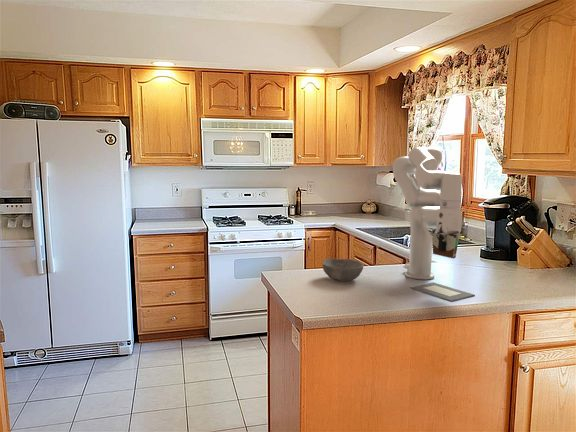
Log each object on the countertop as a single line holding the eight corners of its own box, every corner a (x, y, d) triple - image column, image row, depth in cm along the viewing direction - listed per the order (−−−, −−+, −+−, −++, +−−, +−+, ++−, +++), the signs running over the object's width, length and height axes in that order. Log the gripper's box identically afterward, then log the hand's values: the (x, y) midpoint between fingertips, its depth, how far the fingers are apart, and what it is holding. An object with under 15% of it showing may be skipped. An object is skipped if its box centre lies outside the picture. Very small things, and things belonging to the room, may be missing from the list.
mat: (410, 288, 189) (410, 286, 189) (433, 283, 197) (433, 282, 197) (451, 301, 173) (451, 300, 172) (474, 295, 180) (474, 294, 180)
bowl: (362, 287, 190) (362, 268, 189) (319, 284, 193) (319, 265, 192) (363, 276, 207) (364, 258, 206) (324, 273, 211) (325, 256, 210)
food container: (466, 257, 180) (467, 232, 179) (456, 259, 176) (458, 233, 175) (439, 251, 190) (440, 227, 188) (429, 253, 186) (431, 228, 185)
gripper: (443, 206, 172) (440, 254, 175) (471, 204, 182) (468, 249, 184) (427, 204, 178) (424, 250, 181) (455, 202, 188) (452, 246, 190)
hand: (446, 249), depth 183 cm, fingers closed on food container, 5 cm apart
